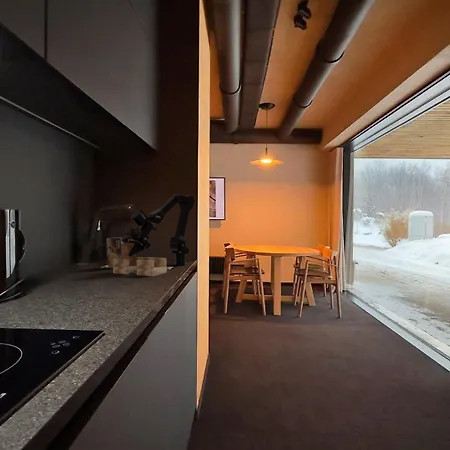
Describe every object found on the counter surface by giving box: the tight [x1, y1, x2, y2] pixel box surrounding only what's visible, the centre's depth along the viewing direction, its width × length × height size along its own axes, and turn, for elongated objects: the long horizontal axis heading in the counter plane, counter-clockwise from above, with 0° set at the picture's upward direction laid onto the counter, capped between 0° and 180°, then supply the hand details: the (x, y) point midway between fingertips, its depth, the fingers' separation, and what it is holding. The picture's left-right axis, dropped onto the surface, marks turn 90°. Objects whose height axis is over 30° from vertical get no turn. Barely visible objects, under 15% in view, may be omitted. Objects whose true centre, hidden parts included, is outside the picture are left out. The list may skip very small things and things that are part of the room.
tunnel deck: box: [112, 256, 168, 277], centre depth 194 cm, size 24×11×7 cm, turn 64°
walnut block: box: [121, 243, 137, 266], centre depth 196 cm, size 5×5×11 cm
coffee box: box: [106, 237, 123, 269], centre depth 215 cm, size 9×6×16 cm
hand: (126, 255), depth 195 cm, fingers closed on walnut block, 5 cm apart
